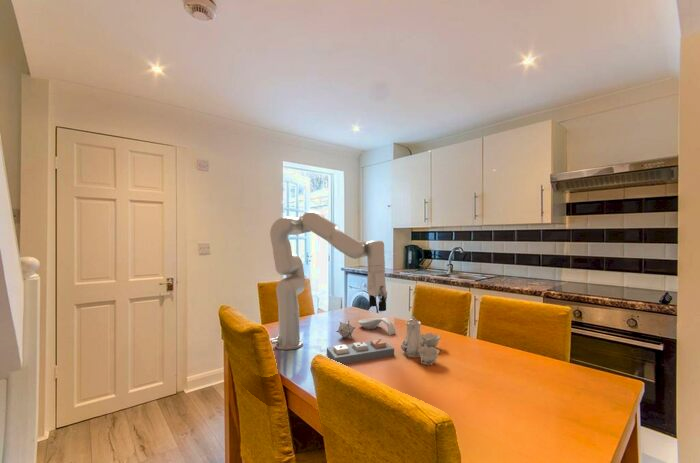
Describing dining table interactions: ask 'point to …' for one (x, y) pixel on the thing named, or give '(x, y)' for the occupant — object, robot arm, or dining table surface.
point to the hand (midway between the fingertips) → (377, 308)
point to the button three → (378, 343)
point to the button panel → (360, 353)
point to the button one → (341, 349)
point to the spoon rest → (374, 322)
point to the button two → (360, 346)
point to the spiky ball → (345, 329)
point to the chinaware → (420, 343)
